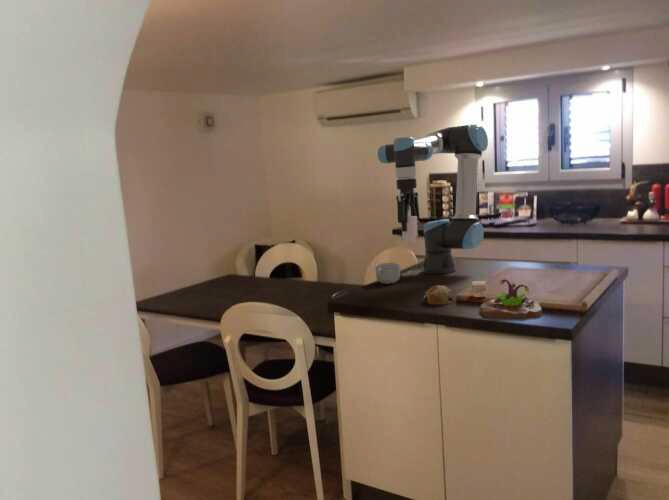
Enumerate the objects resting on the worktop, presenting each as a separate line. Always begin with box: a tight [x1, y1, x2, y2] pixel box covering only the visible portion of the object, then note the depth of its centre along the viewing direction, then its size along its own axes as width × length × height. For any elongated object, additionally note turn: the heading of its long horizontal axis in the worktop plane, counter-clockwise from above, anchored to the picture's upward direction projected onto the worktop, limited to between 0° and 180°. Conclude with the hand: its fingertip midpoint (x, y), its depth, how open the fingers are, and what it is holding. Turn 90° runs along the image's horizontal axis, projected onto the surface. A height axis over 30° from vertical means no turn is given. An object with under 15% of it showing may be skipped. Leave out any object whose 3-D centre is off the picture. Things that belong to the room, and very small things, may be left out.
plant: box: [479, 278, 543, 320], centre depth 199 cm, size 20×20×11 cm
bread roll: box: [423, 284, 454, 306], centre depth 219 cm, size 10×10×8 cm
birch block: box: [470, 280, 488, 292], centre depth 223 cm, size 5×5×5 cm
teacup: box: [374, 262, 401, 285], centre depth 258 cm, size 14×11×8 cm
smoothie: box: [404, 206, 418, 244], centre depth 232 cm, size 6×6×14 cm
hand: (410, 238), depth 233 cm, fingers closed on smoothie, 6 cm apart
